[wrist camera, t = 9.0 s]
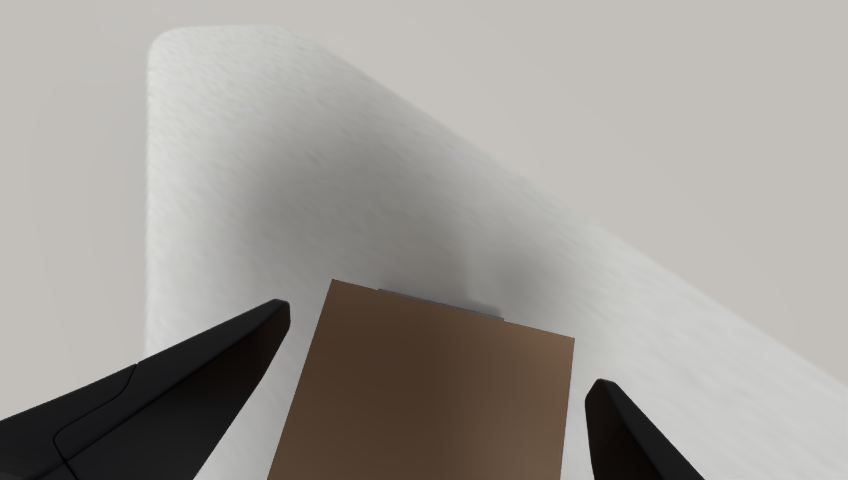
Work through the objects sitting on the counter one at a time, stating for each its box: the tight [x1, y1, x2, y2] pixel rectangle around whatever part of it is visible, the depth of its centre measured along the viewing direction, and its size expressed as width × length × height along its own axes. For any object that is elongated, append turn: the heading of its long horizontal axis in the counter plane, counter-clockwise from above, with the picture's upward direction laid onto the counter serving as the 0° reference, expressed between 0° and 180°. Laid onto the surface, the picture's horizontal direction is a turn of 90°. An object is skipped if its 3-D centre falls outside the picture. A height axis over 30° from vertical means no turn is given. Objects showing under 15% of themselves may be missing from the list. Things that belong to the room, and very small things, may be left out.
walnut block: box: [267, 279, 575, 480], centre depth 11 cm, size 4×4×12 cm
